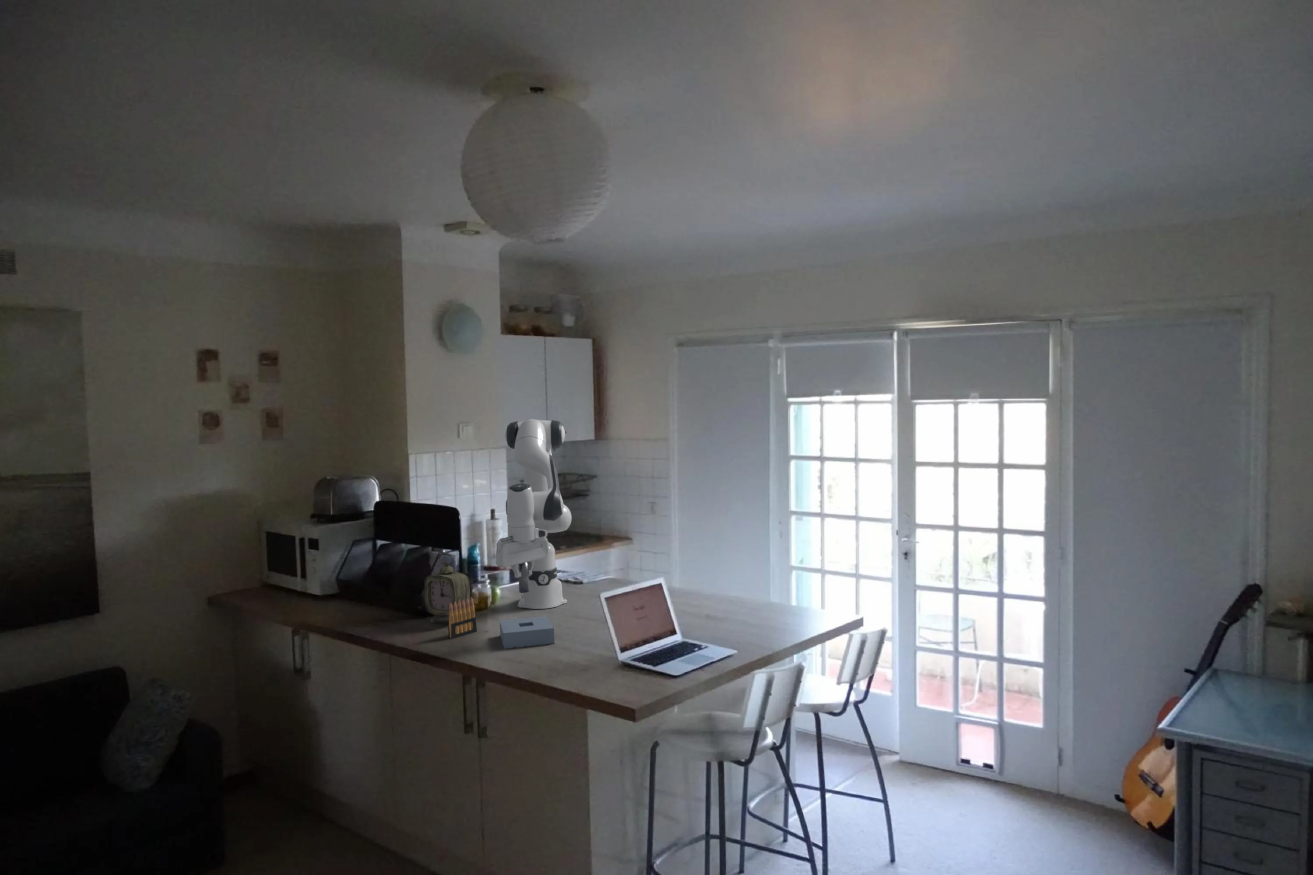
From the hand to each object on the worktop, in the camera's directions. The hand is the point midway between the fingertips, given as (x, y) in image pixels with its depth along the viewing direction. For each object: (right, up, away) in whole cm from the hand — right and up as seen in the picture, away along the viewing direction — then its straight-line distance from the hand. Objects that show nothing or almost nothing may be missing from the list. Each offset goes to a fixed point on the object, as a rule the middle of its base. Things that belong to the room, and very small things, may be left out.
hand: (523, 576), depth 278 cm
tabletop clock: (-31, -21, +27) cm, 46 cm away
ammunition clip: (-22, -22, +9) cm, 32 cm away
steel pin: (0, -5, 0) cm, 5 cm away
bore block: (+1, -21, +1) cm, 21 cm away
